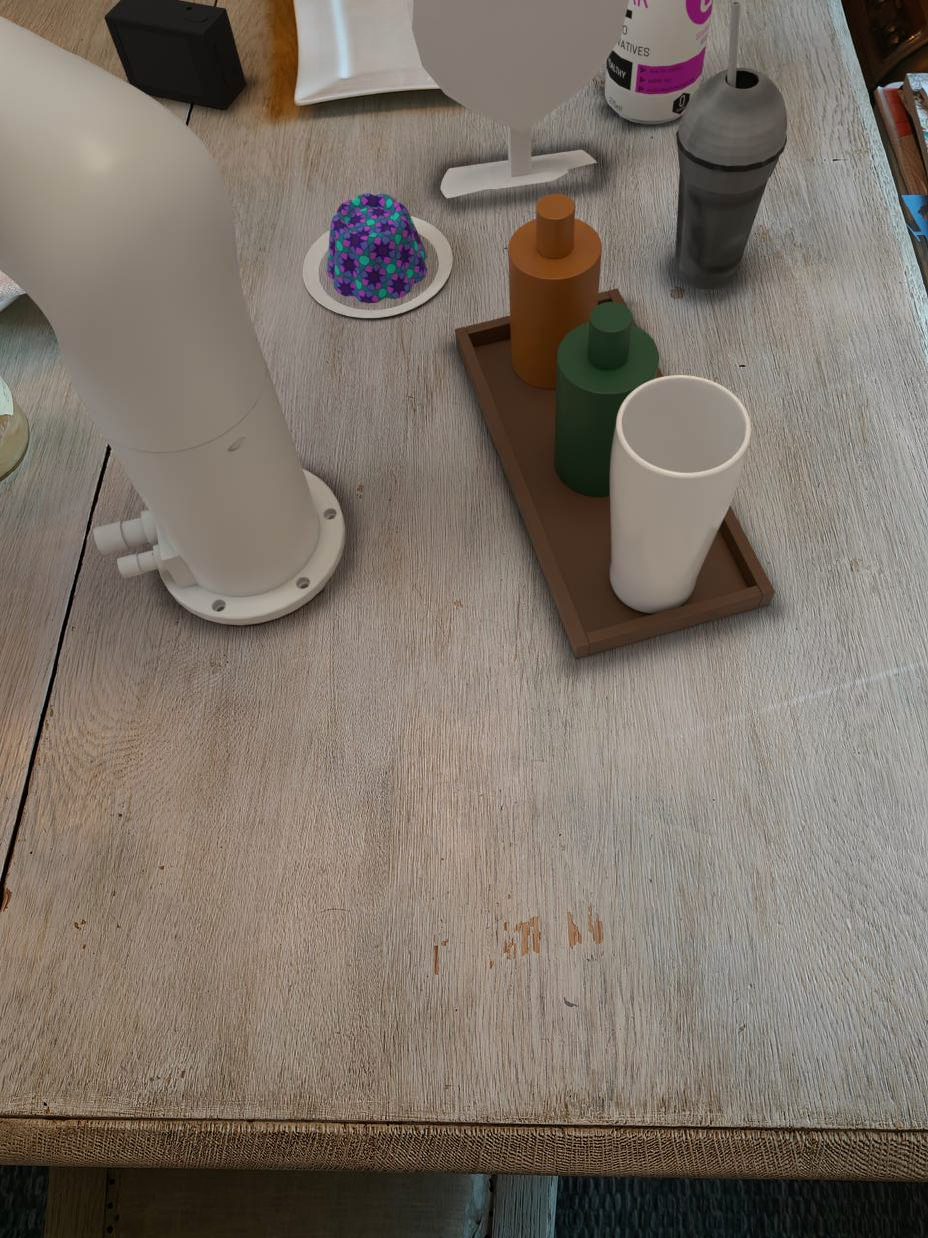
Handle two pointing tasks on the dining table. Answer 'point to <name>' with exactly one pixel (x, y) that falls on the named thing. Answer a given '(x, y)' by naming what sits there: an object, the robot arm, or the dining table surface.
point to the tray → (588, 513)
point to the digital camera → (177, 50)
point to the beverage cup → (725, 167)
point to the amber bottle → (550, 286)
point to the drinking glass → (671, 485)
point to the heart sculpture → (514, 72)
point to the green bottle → (597, 392)
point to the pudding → (375, 256)
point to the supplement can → (658, 59)
